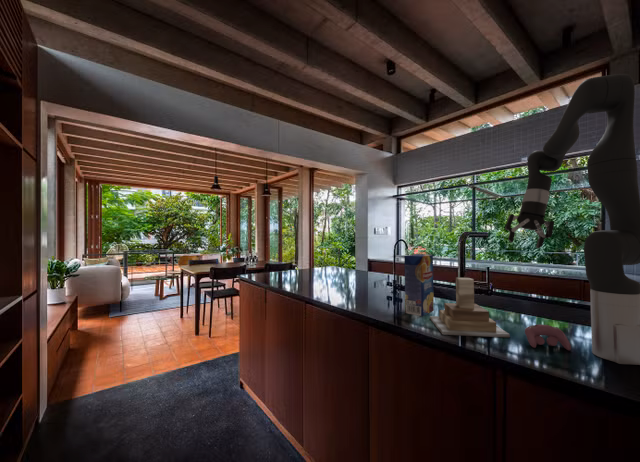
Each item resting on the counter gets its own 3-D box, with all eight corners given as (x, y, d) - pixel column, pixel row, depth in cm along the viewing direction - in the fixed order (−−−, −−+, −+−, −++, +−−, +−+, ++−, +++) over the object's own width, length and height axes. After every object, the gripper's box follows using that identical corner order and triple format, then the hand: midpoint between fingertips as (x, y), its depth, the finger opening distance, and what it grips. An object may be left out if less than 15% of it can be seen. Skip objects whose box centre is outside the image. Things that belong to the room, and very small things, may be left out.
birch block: (474, 308, 97) (473, 279, 97) (460, 308, 98) (459, 279, 98) (469, 305, 101) (469, 277, 102) (456, 305, 102) (455, 277, 102)
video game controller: (565, 352, 81) (558, 326, 85) (574, 350, 77) (566, 324, 81) (526, 349, 84) (520, 324, 87) (532, 347, 80) (526, 321, 83)
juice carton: (422, 316, 113) (421, 256, 113) (404, 313, 118) (404, 255, 119) (433, 310, 122) (433, 254, 122) (417, 307, 127) (416, 254, 127)
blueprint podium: (509, 337, 89) (509, 315, 89) (442, 334, 92) (442, 312, 92) (485, 320, 107) (485, 302, 107) (429, 318, 110) (429, 300, 110)
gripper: (515, 197, 105) (504, 239, 104) (562, 204, 99) (551, 249, 99) (510, 201, 112) (500, 241, 111) (553, 208, 106) (543, 250, 106)
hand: (524, 245), depth 105 cm, fingers open, 8 cm apart
